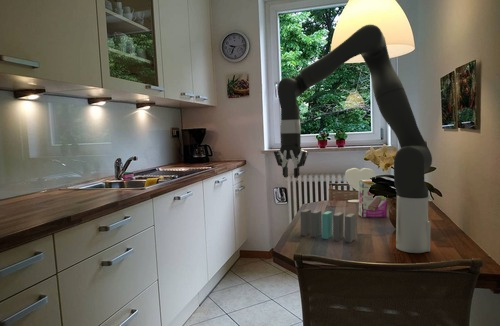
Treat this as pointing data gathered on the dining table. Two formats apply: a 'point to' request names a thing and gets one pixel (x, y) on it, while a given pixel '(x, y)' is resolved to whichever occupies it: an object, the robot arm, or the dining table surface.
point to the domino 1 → (305, 222)
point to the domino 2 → (316, 223)
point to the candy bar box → (370, 202)
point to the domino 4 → (338, 226)
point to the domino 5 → (349, 228)
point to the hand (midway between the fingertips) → (291, 177)
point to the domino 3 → (327, 225)
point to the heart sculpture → (358, 178)
